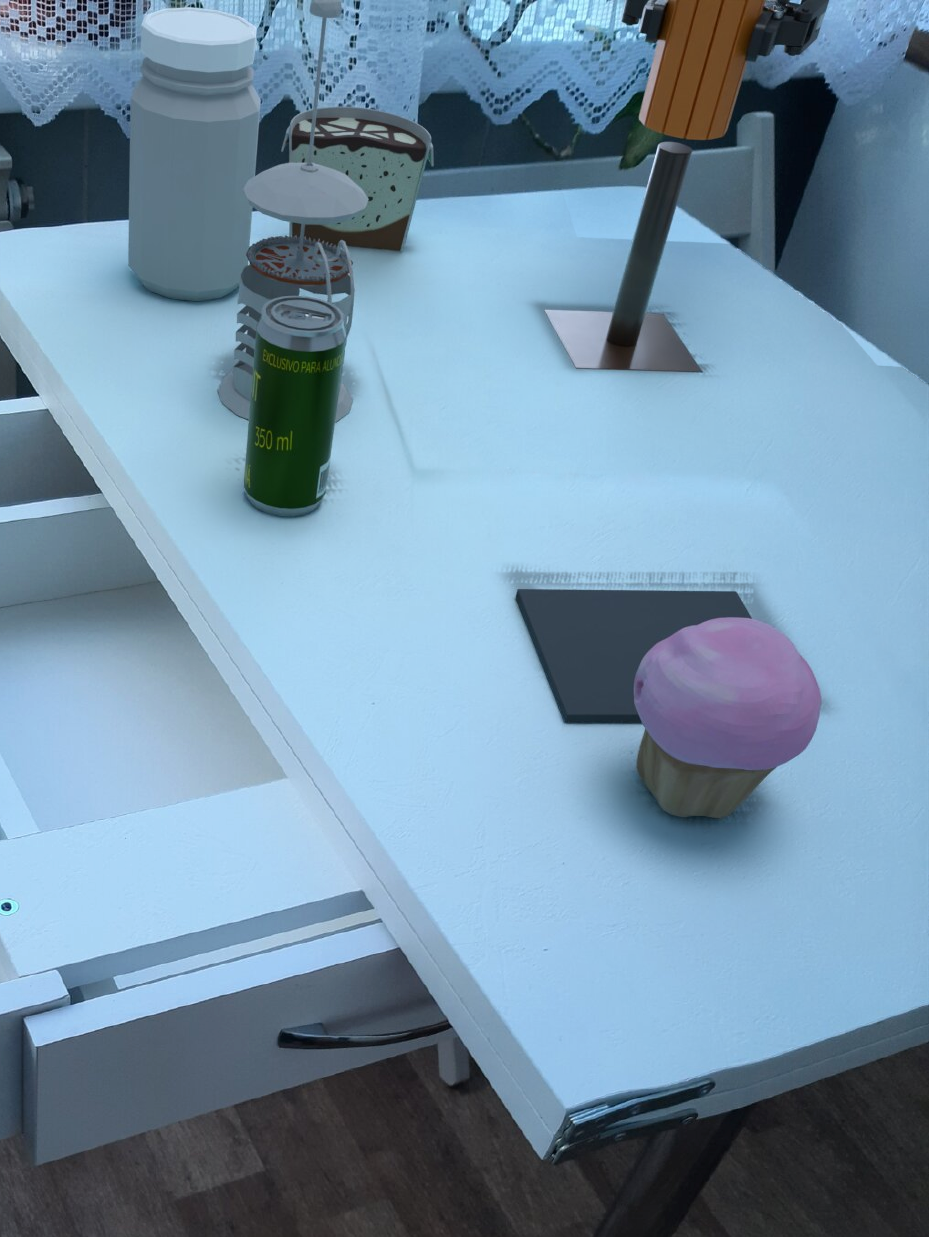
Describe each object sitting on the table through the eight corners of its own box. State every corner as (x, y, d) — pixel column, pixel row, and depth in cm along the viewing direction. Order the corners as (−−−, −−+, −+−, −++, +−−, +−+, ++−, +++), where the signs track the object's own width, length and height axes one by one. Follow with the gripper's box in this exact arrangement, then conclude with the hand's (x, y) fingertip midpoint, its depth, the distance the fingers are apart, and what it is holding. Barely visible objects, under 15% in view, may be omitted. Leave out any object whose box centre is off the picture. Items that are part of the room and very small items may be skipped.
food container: (413, 238, 121) (433, 113, 114) (417, 267, 117) (438, 139, 110) (273, 225, 121) (284, 98, 114) (271, 253, 117) (283, 123, 109)
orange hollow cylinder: (709, 112, 99) (757, -55, 92) (737, 142, 95) (790, -30, 87) (628, 108, 98) (670, -60, 91) (653, 138, 94) (699, -36, 87)
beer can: (328, 482, 92) (352, 301, 83) (319, 524, 88) (343, 340, 79) (248, 470, 92) (264, 289, 83) (236, 512, 88) (251, 327, 80)
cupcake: (742, 744, 76) (810, 590, 69) (792, 856, 70) (872, 700, 63) (585, 740, 75) (636, 583, 68) (621, 852, 70) (682, 694, 62)
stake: (659, 328, 112) (719, 126, 102) (698, 387, 106) (767, 177, 95) (540, 324, 111) (588, 119, 100) (572, 383, 105) (627, 171, 94)
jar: (108, 290, 109) (110, 29, 96) (152, 245, 116) (159, -4, 103) (225, 316, 108) (243, 55, 95) (263, 269, 114) (285, 19, 101)
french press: (318, 357, 104) (365, -34, 86) (387, 432, 97) (454, 23, 79) (197, 371, 101) (219, -31, 83) (259, 450, 94) (297, 29, 76)
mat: (733, 599, 86) (736, 590, 86) (804, 722, 78) (808, 714, 78) (515, 597, 84) (517, 588, 84) (564, 723, 76) (567, 714, 76)
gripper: (656, -99, 100) (611, -52, 89) (858, -65, 97) (838, -13, 86) (627, 20, 106) (582, 78, 95) (818, 55, 103) (794, 120, 92)
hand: (704, 35), depth 91 cm, fingers closed on orange hollow cylinder, 6 cm apart
